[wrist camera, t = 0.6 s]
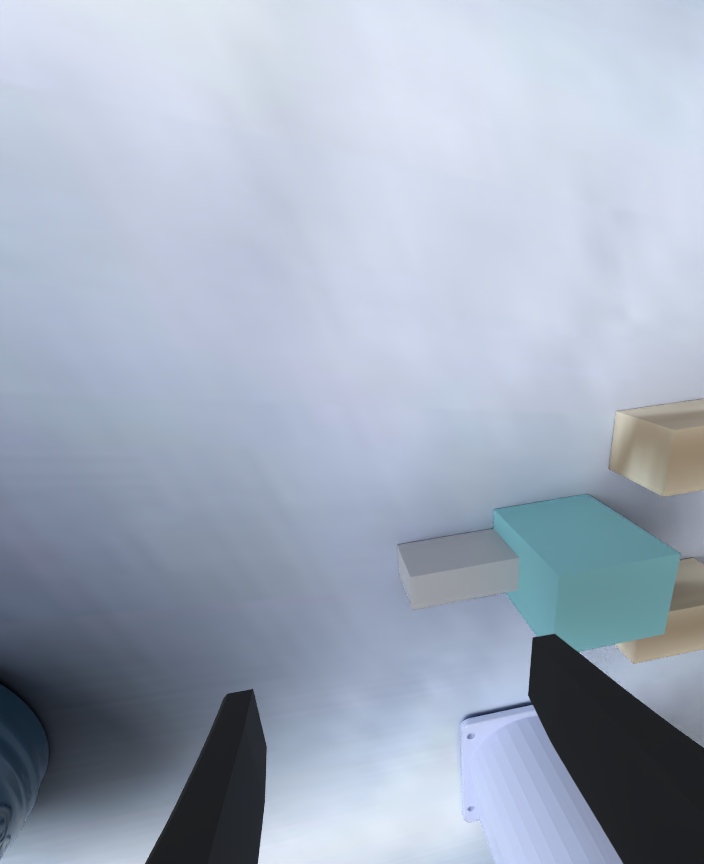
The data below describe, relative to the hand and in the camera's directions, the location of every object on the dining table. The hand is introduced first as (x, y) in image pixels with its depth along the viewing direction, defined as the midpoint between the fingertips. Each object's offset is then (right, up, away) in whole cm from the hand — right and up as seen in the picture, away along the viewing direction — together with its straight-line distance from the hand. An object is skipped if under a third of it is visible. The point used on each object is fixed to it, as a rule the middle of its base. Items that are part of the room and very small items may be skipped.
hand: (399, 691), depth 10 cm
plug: (+6, +1, +10) cm, 12 cm away
